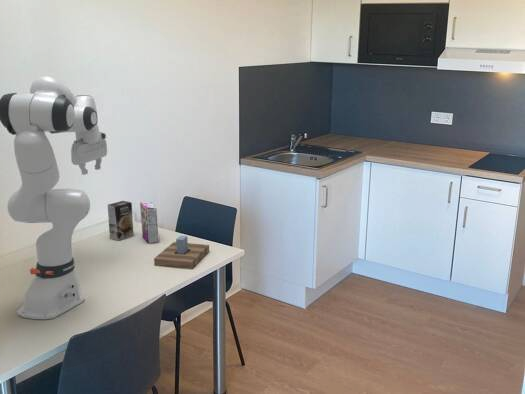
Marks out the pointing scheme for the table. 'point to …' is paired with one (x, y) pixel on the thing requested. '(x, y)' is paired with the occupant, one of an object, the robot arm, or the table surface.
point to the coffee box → (120, 220)
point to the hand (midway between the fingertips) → (91, 171)
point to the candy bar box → (149, 222)
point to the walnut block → (181, 256)
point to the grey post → (182, 245)
